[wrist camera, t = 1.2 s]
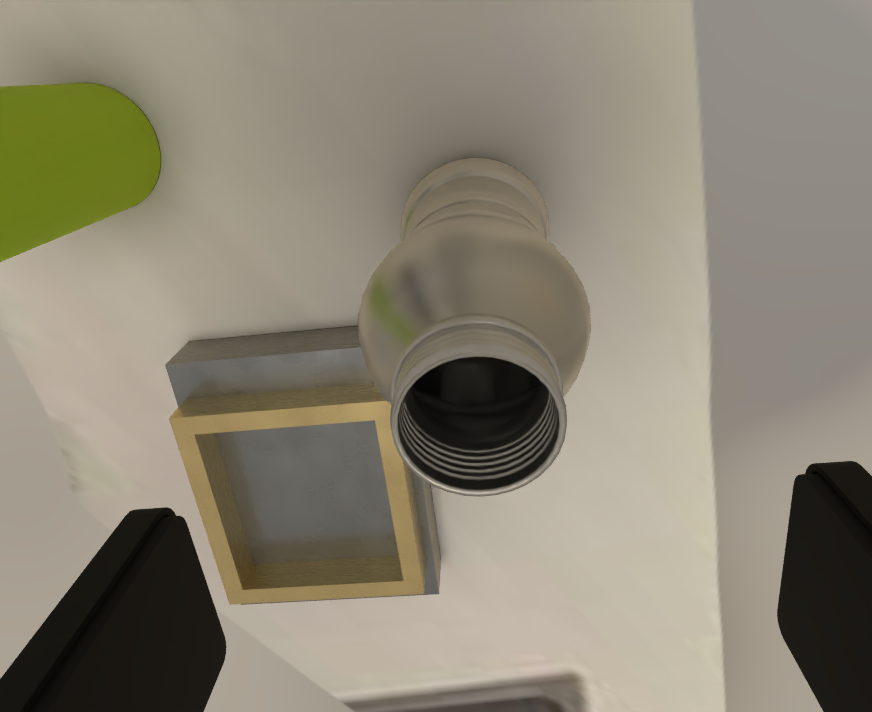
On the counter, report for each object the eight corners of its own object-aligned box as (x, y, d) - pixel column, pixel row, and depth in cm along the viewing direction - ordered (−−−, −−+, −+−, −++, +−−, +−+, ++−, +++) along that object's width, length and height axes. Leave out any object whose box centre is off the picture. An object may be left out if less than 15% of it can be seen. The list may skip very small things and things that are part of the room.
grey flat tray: (188, 341, 35) (146, 382, 31) (406, 321, 34) (397, 360, 29) (256, 569, 42) (229, 631, 37) (440, 558, 40) (437, 620, 36)
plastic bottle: (542, 279, 33) (633, 547, 15) (409, 284, 33) (337, 551, 15) (543, 146, 30) (658, 271, 12) (399, 154, 31) (297, 285, 12)
